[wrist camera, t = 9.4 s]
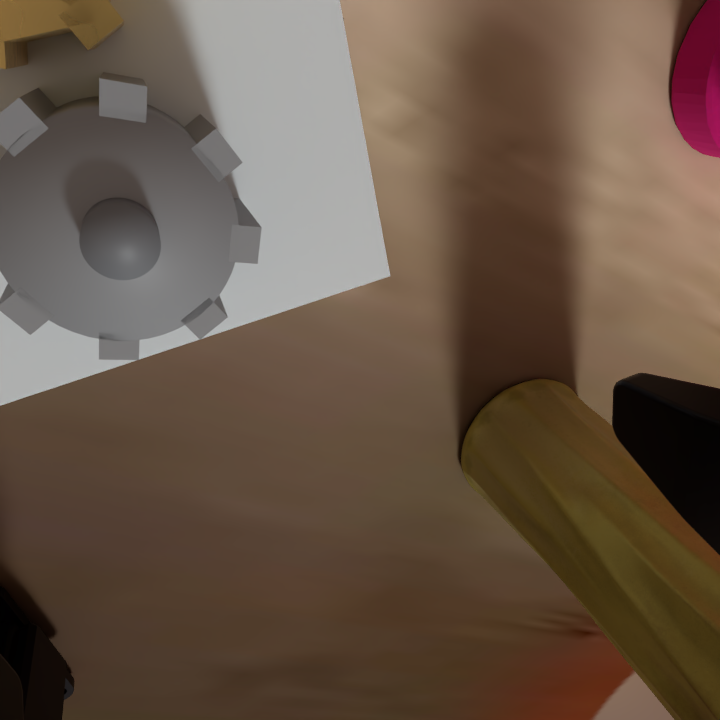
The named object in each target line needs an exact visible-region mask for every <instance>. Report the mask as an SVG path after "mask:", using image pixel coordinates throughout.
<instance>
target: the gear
mask: <svg viewBox="0 0 720 720" xmlns="http://www.w3.org/2000/svg"><path fill="white" fill-rule="evenodd" d="M110 2H111V0H0V68H2V69H9V68H14V67H19V66H23V65H28V53H27V42H30V41H34V40H38V39H43V38H47V37H52V36H56V35H61V34H65V33H70V32H73V33H74V34H75V35H76V37H77V38H78V39H79V40H80V41H81V43H82V44H83V45H84V46H85V47H86V49H87V50H93V49H95V48H97V47H98V46H99V45H100V44H101V43H103V42H104V41H105V40H106V39H107V38H109V37H110V36H111V35H112V34H113V33H115V32H116V31H117V30H118V29H120V28H121V27H122V26H123V25H124V20H123V19H122V18H121V16H120V15H119V14H118V13H117V11H116V10H115V9H114V7H113V6H112V5H111V4H110Z"/></svg>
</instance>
